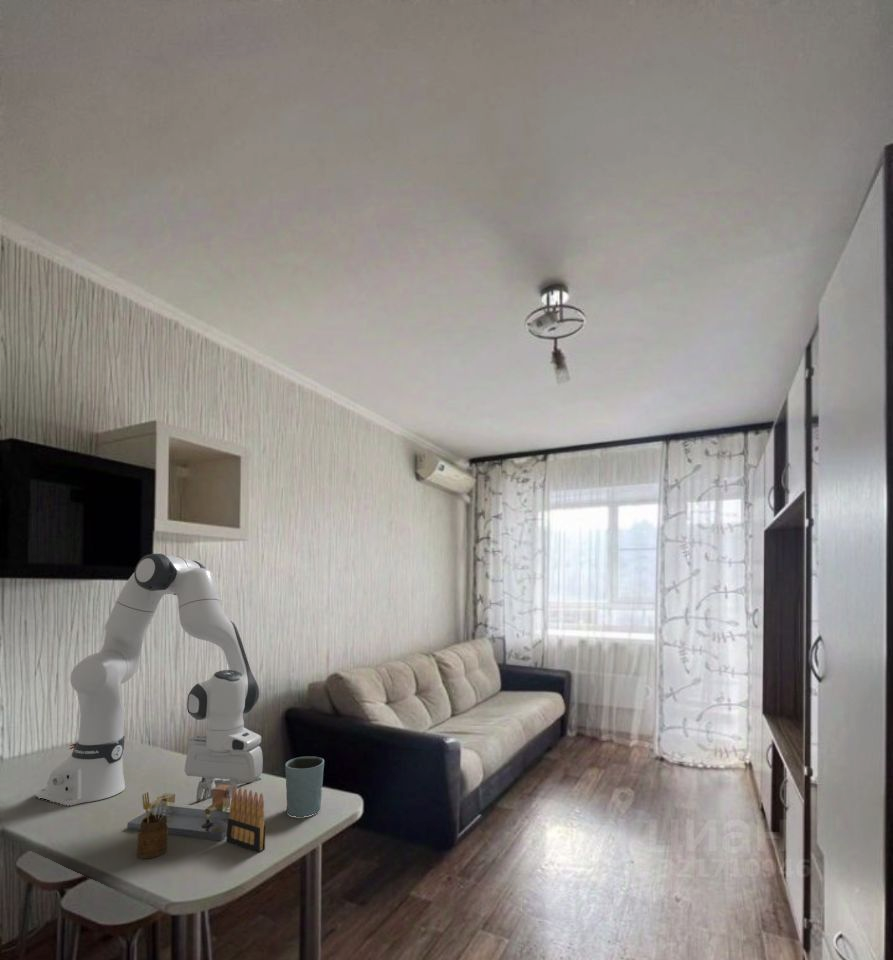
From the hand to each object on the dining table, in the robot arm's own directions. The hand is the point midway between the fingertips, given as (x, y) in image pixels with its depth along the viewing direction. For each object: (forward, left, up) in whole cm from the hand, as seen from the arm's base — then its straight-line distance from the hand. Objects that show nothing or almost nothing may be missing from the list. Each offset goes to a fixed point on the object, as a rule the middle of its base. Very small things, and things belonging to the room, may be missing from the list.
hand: (221, 796), depth 139 cm
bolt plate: (-7, -3, -6) cm, 10 cm away
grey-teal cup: (+17, +11, -6) cm, 21 cm away
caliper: (-10, +19, -7) cm, 23 cm away
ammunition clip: (+13, -9, -6) cm, 17 cm away
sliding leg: (0, -2, -4) cm, 5 cm away
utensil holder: (-6, -16, -6) cm, 19 cm away
